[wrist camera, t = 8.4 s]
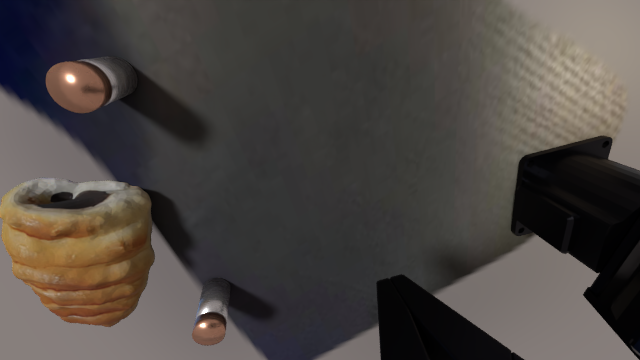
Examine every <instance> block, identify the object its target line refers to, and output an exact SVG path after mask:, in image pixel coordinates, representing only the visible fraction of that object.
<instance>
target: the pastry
mask: <svg viewBox="0 0 640 360" xmlns="http://www.w3.org/2000/svg"><path fill="white" fill-rule="evenodd" d="M1 202H2V203H1V206H0V218H2V219H3V226H2V235H1V236H2V241H3V242H4V245H5V247H6V250H7V252H8V253H9V255H10V256H11V258H12V263H13V267H12V271H13V274H14V275H15V276H16V277H17V278H18V279H21V280H23V281H24V283H25V284H27V285H29V286H30V287H31V288H32V290H33V291H34V292H35V294H37V295H38V296H39V297H40V300H41V302H42V304H43V305H44V306H45V307H47V308H49V310H50V311H51V312H53V313H55V314H56V315H57V316H60V317H61V319H62V320H64V321H66V322H70V323H80V324H89V325H90V324H92V325H102V326H105V327H111V326H113V325H115V324H117V323H118V322H119V321H120V320H121V319H124V318H126V317H127V316H129V315H130V314H131V313H132V312H133V311H134V309H135V308H136V306H137V304H138V301H139V298H140V296H141V293H142V292H143V290H144V289H145V287H146V285H147V280H148V274H149V270H150V267H151V266H152V264H153V262H154V259H155V255H154V250H153V248H152V245H151V233H152V217H151V205H152V203H151V200H150V197H149V195H148V194H147V193H146V192H145V191H143V190H142V189H141V188H140V187H138V186H131V185H129V184H128V183H124V182H116V181H109V180H106V181H91V182H83V183H76V182H72V181H70V180H65V179H58V178H38V179H34V180H31V181H27V182H25V183H22V184H20V185H18V186H16V187H15V188H13V189H12V190H10V191H9V192H8V193H6V195H4V196H3V198H2V200H1Z"/></svg>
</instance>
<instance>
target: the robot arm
mask: <svg viewBox="0 0 640 360" xmlns="http://www.w3.org/2000/svg"><path fill="white" fill-rule="evenodd" d="M611 146H612V138H610V137H607V136H598V137H594V138H590V139H586V140H583V141H579V142H575V143H571V144H567V145H563V146H559V147H556V148H552V149H548V150H544V151H540V152H536V153H532V154H528V155H526V156H524V157H523V158H522V159H521V160H520V163H519V170H518V178H517V186H516V194H515V203H514V211H513V219H512V227H511V231H512V232H513V233H514V234H515V235H517V236H521V235H525V234H529V233H532V232H534V233H535V234H536V235H538V236H539V237H541V238H542V239H543V240H545V241H546V242H548V243H549V244H550V245H552V246H553V247H554V248H556V249H557V250H559V251H560V252H561V253H564V254H566V253H569V254H571V255H572V256H573V257H575V258H576V259H577V260H579V261H580V262H582V263H583V264H585V265H586V266H587V267H589V268H590V269H592V270H593V271H595V272H596V273H600V274H599V275H598V277H597V278H596V280H595V281H594V283H593V284H592V286H591V287H588V288H587V289H586V291H585V292H584V294H583V295H584V297H585V298H586V299H587V300H588V301H589V303H590V304H591V305H592V306H593V307H594V308H595V309H596V311H597V312H598V313H599V314H600V315H601V316H602V318H603V319H604V320H605V321H606V322H607V323H608V325H609V326H610V327H611V328H612V329H613V330H614V331H615V333H616V334H617V335H618V336H619V337H620V338H621V339H622V341H623V342H624V343H625V344H626V345H627V346H628V348H629V349H630V350H631V351H632V352H633V353H634V355H635V356H636V357H637V358H638V359H639V360H640V171H639V170H636V169H634V168H631V167H628V166H625V165H622V164H620V163H617V162H614V161H611V160H608V157H609V153H610V149H611ZM528 162H529V163H528ZM377 302H378V319H379V336H380V353H381V360H524V359H523V358H521V357H520V356H518V355H517V354H515V353H514V352H513V353H511V350H509V349H508V348H507V347H505V346H504V345H502V344H501V343H499V342H498V341H497V340H495V339H494V338H493V337H491V336H490V335H488V334H487V333H486V332H484V331H483V330H481V329H480V328H478V327H477V326H476V325H474V324H473V323H471V322H470V321H468V320H467V319H466V318H464V317H463V316H461V315H460V314H458V313H457V312H456V311H454V310H452V309H451V308H450V307H448V306H447V305H446V304H444V303H443V302H442V301H440V300H439V299H437V298H436V297H434V296H433V295H432V294H430V293H429V292H427V291H426V290H424V289H423V288H422V287H420V286H419V285H417V284H416V283H415V282H413V281H412V280H410V279H409V278H407V277H406V276H405V275H402V274H401V275H397V276H393V277H391V278H390V279H389V278H386V279H383V280H379V281H377Z"/></svg>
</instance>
